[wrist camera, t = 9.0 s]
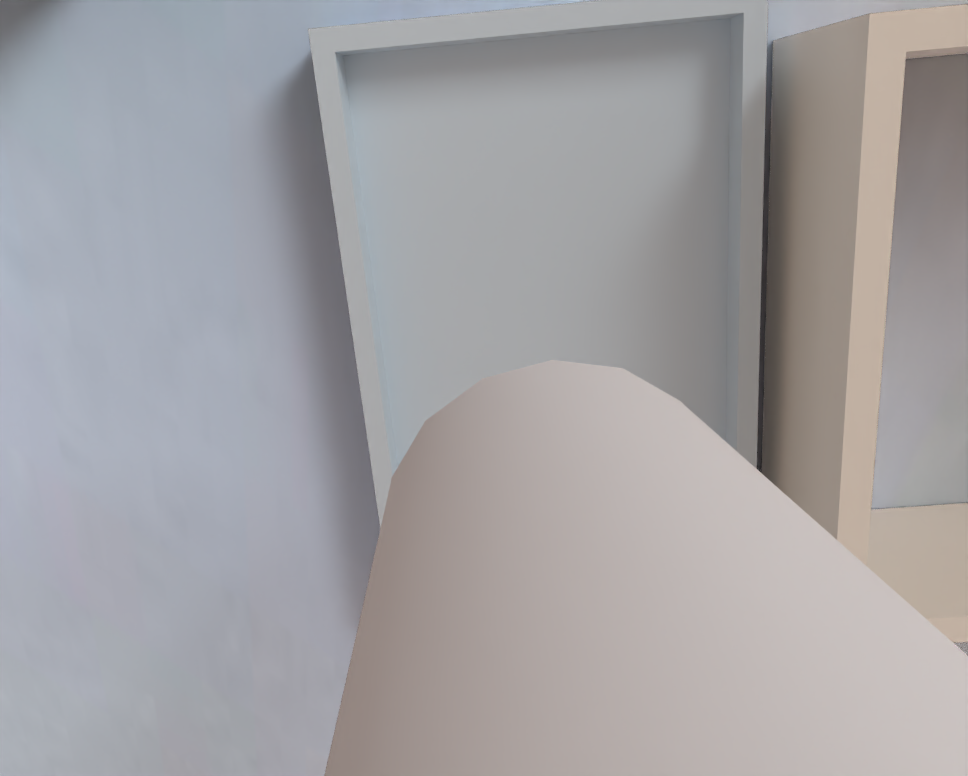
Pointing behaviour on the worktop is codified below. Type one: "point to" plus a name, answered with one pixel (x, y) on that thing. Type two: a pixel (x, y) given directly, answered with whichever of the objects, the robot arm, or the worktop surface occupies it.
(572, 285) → the tray
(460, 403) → the white cup
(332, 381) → the worktop surface
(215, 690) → the worktop surface
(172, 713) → the worktop surface
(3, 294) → the worktop surface
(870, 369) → the open beige storage bin
